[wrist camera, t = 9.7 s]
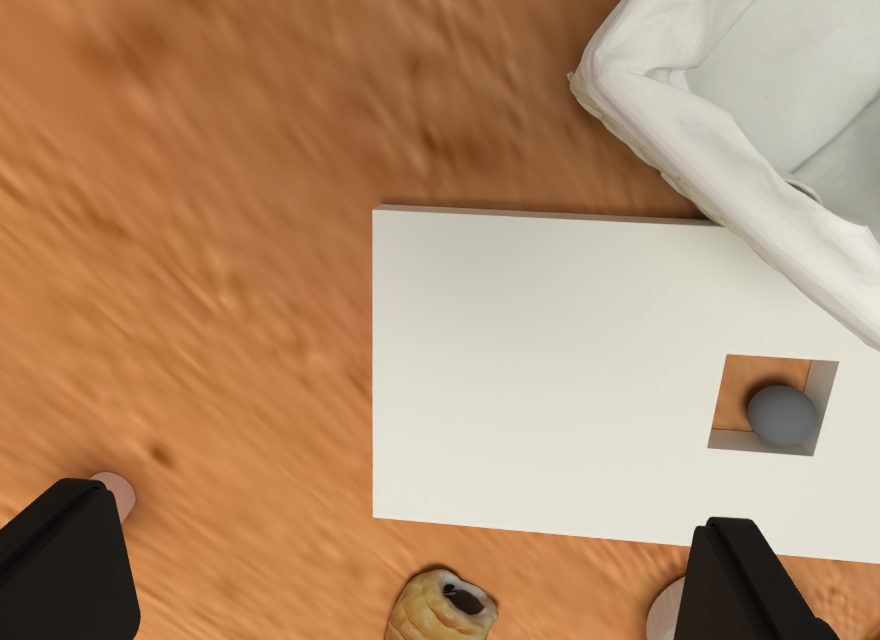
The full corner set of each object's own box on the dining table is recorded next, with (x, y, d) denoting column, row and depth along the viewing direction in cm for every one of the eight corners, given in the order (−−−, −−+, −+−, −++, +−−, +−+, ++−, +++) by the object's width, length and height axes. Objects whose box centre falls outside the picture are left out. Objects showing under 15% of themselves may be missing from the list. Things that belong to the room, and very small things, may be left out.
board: (380, 494, 40) (373, 517, 38) (381, 204, 34) (372, 209, 32) (863, 537, 38) (888, 564, 36) (962, 232, 32) (1000, 240, 29)
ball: (802, 418, 31) (838, 398, 33) (743, 384, 34) (780, 367, 35) (782, 466, 33) (818, 445, 34) (728, 430, 35) (763, 412, 37)
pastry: (436, 673, 45) (430, 720, 42) (363, 630, 45) (351, 674, 41) (505, 597, 42) (505, 640, 39) (427, 550, 42) (420, 590, 38)
